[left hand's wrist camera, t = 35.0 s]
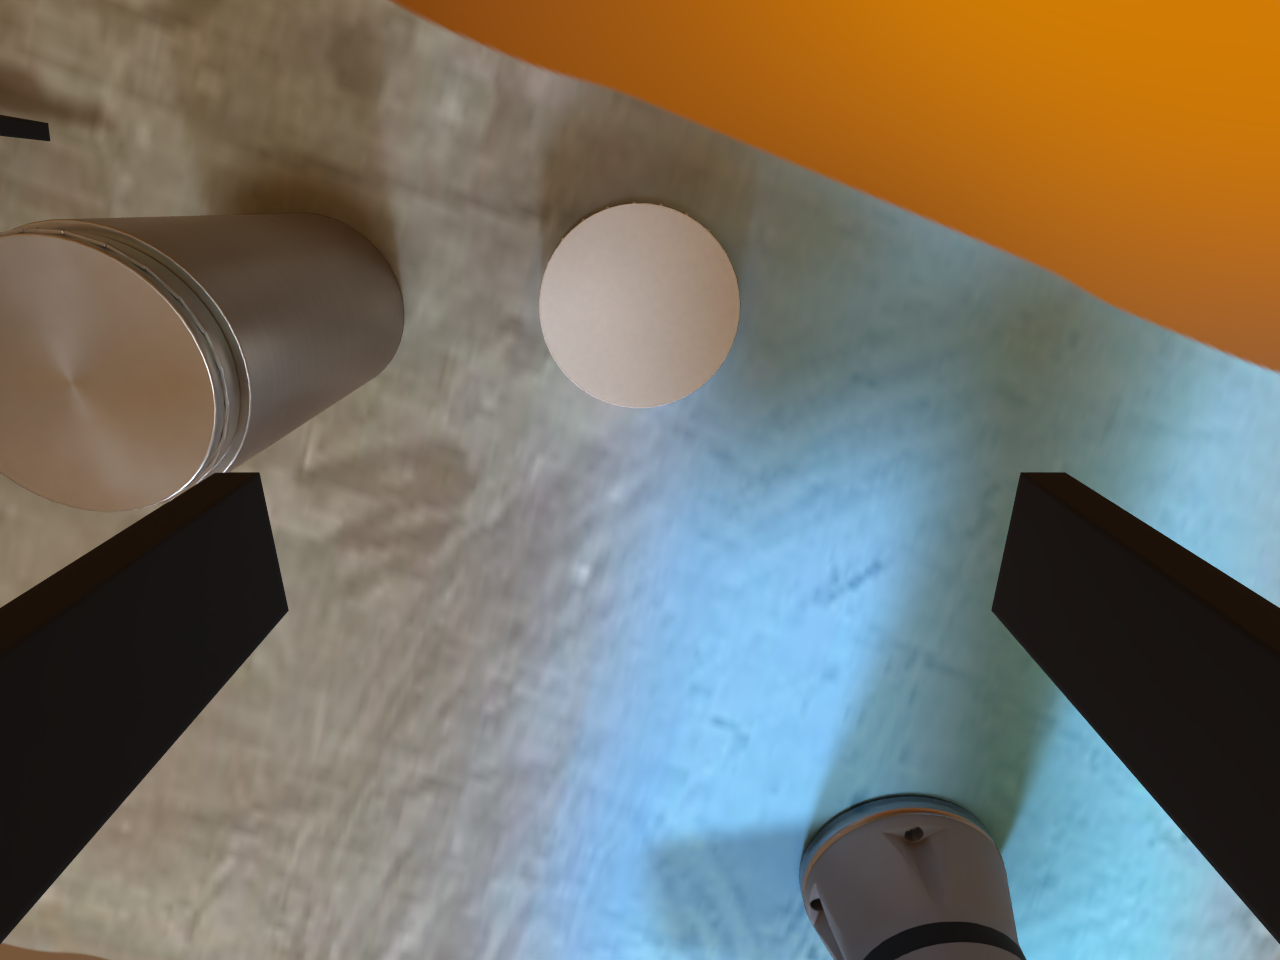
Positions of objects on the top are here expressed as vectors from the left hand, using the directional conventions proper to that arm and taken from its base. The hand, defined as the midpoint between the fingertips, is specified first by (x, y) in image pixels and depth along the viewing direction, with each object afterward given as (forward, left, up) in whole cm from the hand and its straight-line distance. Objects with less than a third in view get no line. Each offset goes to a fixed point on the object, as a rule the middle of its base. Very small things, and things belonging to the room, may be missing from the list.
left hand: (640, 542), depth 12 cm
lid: (0, 0, -28) cm, 28 cm away
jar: (+14, +12, -29) cm, 34 cm away
